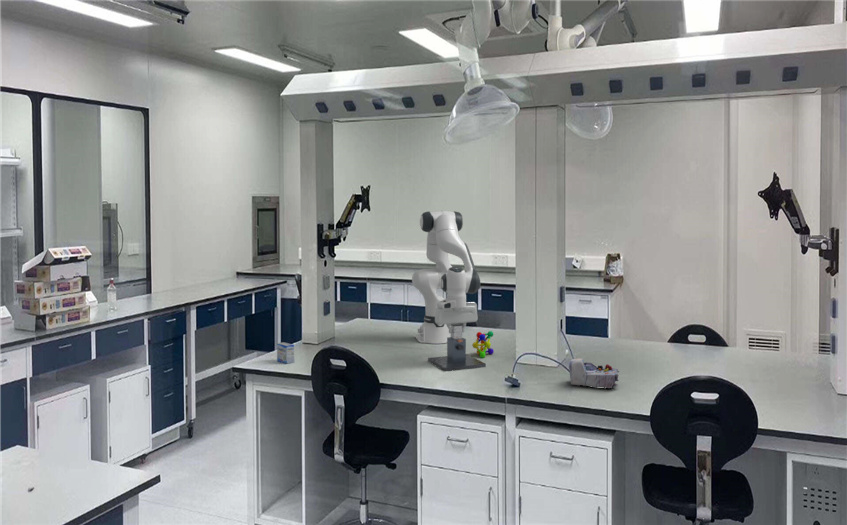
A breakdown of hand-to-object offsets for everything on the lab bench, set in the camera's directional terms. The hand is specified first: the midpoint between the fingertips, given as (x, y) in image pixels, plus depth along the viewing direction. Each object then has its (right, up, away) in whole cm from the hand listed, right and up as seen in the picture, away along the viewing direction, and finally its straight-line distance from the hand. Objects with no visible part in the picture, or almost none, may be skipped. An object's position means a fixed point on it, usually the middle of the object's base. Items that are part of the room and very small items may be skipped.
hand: (456, 332), depth 303 cm
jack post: (0, -13, +1) cm, 13 cm away
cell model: (+54, -18, -33) cm, 66 cm away
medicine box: (-79, -15, +6) cm, 81 cm away
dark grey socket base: (0, -15, +1) cm, 15 cm away
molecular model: (+14, -13, +18) cm, 26 cm away
